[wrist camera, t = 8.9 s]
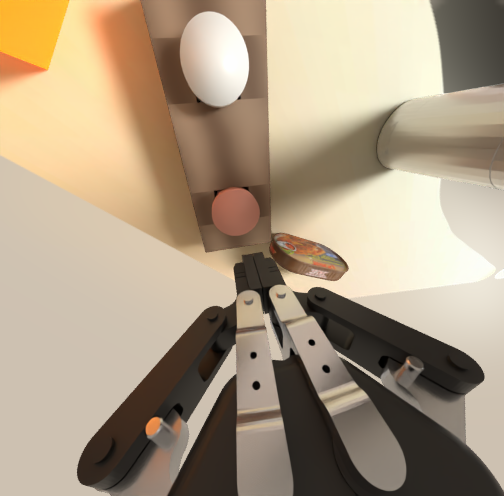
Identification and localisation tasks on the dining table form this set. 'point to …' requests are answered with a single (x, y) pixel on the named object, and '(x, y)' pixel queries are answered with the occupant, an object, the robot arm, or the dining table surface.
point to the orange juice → (31, 29)
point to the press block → (218, 115)
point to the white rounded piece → (214, 59)
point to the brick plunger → (235, 211)
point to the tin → (307, 257)
